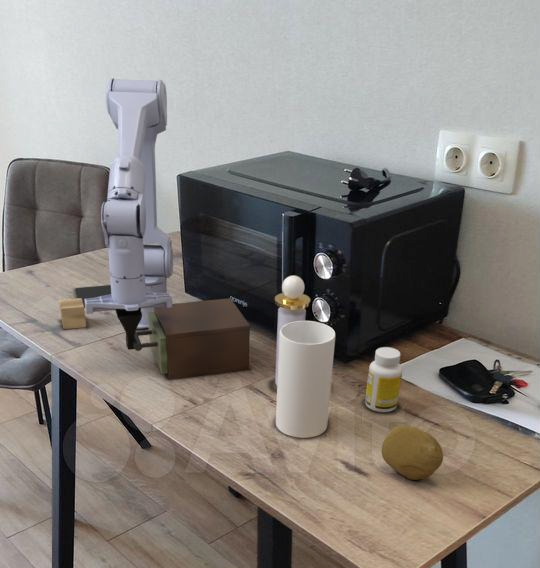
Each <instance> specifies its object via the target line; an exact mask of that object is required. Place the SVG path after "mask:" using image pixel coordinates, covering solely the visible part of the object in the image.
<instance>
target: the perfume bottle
mask: <svg viewBox="0 0 540 568" xmlns="http://www.w3.org/2000/svg"><path fill="white" fill-rule="evenodd" d="M281 291H282V293H278V294H276V295H275V296H274V304H275V306H277V307H278V309H277V315H275V316H274V318H273V319H274V320H273V329H274V330H273V332H274V333H275V329H276V351H275V373H274V374H275V375H274V379H275V380H274V383H275V385H276V386H277V382H278V359H279V338H280V329H281V328H282V327H283V326H284V325H286V324H288V323H291V322H295V321H306V318H307V317H306V315H307V310H306V308H308V307H309V306H310V305H311V298H310V296H308V295H307V294H304V292H305V283H304V280H303V279H302V278H301V277H300V276H298V275H288V276H287V277H286V278H285V279H284V280H283V282H282V284H281ZM276 327H277V328H276Z"/></svg>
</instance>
